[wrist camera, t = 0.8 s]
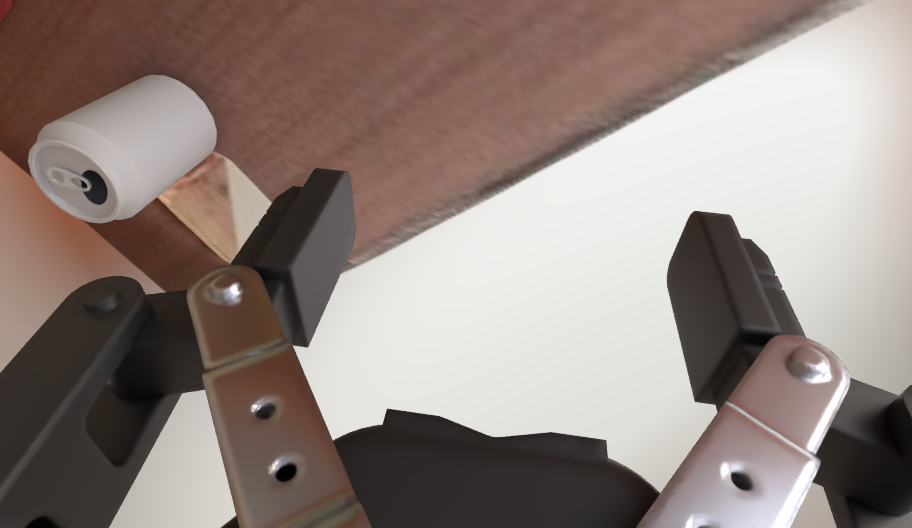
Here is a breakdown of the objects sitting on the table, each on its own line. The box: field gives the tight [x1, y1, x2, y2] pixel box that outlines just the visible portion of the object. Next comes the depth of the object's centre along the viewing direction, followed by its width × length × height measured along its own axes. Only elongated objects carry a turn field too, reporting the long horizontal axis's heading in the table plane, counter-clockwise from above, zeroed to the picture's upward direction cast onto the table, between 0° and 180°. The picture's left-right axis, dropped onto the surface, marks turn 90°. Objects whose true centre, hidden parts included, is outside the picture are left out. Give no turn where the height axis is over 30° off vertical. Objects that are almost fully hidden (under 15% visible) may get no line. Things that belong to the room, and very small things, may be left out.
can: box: [28, 75, 217, 223], centre depth 39 cm, size 8×8×12 cm
